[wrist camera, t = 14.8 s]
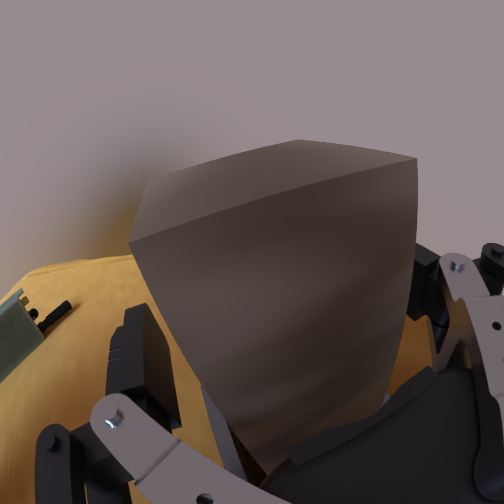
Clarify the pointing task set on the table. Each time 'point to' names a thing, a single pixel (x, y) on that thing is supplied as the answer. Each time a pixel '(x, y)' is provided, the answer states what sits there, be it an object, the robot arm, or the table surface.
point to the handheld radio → (22, 331)
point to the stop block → (284, 282)
